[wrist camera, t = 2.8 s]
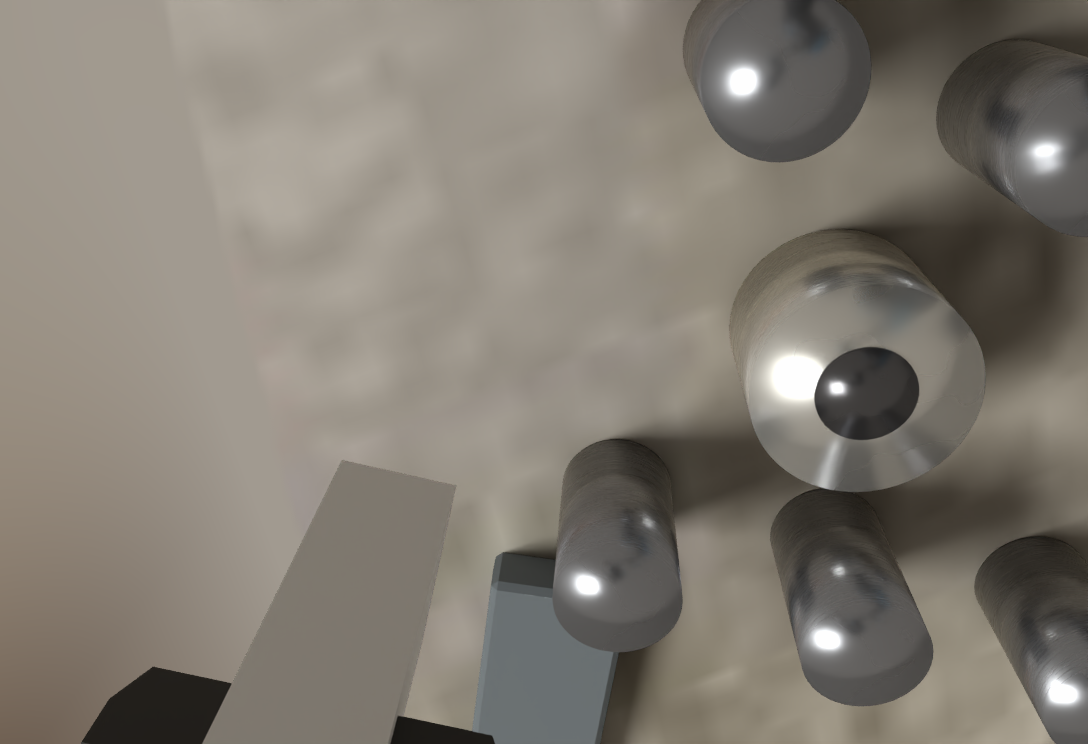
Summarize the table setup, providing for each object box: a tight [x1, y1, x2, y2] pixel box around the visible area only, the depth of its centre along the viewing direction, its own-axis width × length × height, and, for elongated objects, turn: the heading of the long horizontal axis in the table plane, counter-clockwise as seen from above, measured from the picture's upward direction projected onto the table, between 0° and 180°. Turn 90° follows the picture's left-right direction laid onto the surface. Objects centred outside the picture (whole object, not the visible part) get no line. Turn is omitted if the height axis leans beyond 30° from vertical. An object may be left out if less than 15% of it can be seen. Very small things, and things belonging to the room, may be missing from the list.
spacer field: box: [552, 0, 1088, 744], centre depth 22 cm, size 15×15×5 cm
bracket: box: [472, 552, 619, 744], centre depth 30 cm, size 4×10×2 cm, turn 173°
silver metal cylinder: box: [729, 229, 986, 492], centre depth 23 cm, size 5×5×4 cm
